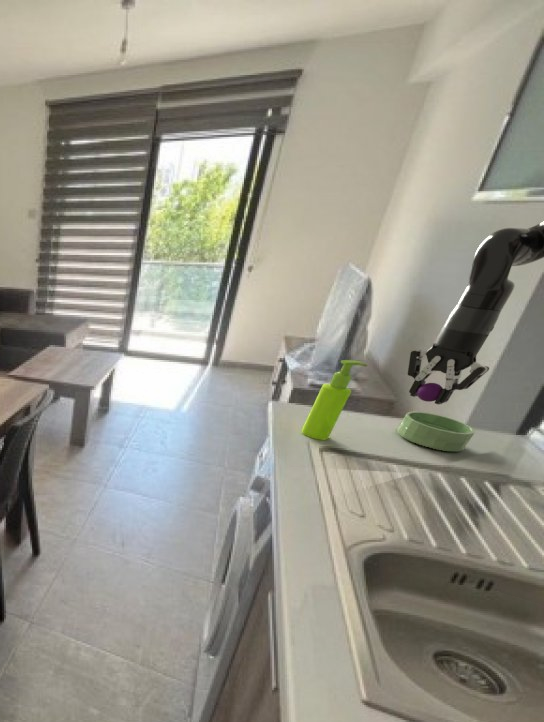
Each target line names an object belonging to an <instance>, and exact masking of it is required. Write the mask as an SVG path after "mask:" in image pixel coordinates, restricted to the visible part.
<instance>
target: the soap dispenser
mask: <svg viewBox="0 0 544 722" xmlns="http://www.w3.org/2000/svg"><path fill="white" fill-rule="evenodd" d="M340 364H342V367H341V369H340V371H336V372H334V374H333V376H332V378H331V381H330V382H329V383H323V384H322V385H321V388H320V390H319V393H318V395H317V396H316V398H315V401H314V403H313V405H312V407H311V409H310V410H309V413H308V415H307V418H306V419H305V422H304V424H303V427H302V428H301V434H303V435H304V436H306V437H308V438H311V439H315V440H321V441H326V440H328V439H329V438H330V435H331V434H332V431H333V430H334V427H335V425H336V423H337V421H338V419H339V417H340V415H341V413H342V411H343V409H344V408H345V406H346V403H347V401H348V399H349V397H350V395H351V393H352V390H351V389H350V388H348V385H349V383H350V381H351V379H352V375H351V374H350V372H351V369H352V368H353V366H362V367H368V364H366V363H364V362H363V361H359V360H354V359H353V360H352V359H344V360H343V359H342V360H340Z"/></svg>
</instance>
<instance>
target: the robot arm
mask: <svg viewBox="0 0 544 722" xmlns="http://www.w3.org/2000/svg"><path fill="white" fill-rule="evenodd" d="M543 258H544V220H543V221H542V222H539V223H538V224H536V225H533V226H530V227H528V228H523V227H522V228H521V227H506V228H501V229H497V230H496V231H493V232H492V233H491V234H489V235H488V236H487V237H486V238H484V239H483V241H482V242H481V243H480V244H479V246H478V247H477V249H476V251H475V253H474V256H473V258H472V263H471V267H470V270H469V274H468V281H467V285H466V287H464V290H463V292H462V294H461V296H460V297H459V299H458V301H457V303H456V305H455V306H454V308H453V309H452V310H451V311H450V313H449V314H448V317H447V318H446V320H445V322H444V324H443V325H442V327H441V329H440V330H439V332H438V335H437V336H436V338H435V340H434V342H433V343H432V346H430V348H429V349H427V350H422V349H416V350H412V351H410V355H409V361H408V368H407V376H409V377H412V378H413V379H414V381H413V383H412V385H411V387H410V388H409V391H408V392H409V395H410V397H412V398H415V397H418V396H417V390H418V389H419V387H420V386H422V385H424V384H426V383H427V382H426V380H427V379H429V377H430V376H431V375H432V374H434V373H435V372H440V373H443V374H445V385H444V387H443V389H442V391H441V392H440V394H439V396H438V398H437V399H436V400H435V401H434V404H436V405H439V406H440V405H443V404H445V403H448V401H449V400H450V398H451V396H452V395H453V393H454V391H457V390H458V391H463V390H468V389H470V387H472V385H473V384H475V383H476V382H477V381H478V380H480V379H481V378H482V377H483V376H484V375H485V374H487V372H489V370H490V367H489V366H488V365H483V364H481V363H479V362H477V355H478V354H479V352H480V351H481V349H482V347H483V345H484V344H485V342H486V341H487V338H488V337H489V336H490V334H491V332H493V330H494V328H495V325H496V323H498V322H497V321H498V320H499V317H500V315H501V312H502V310H503V309H504V307H505V306H506V304H507V302H508V300H509V299H510V297H511V295H512V294H513V291H514V290H515V282H514V281H513V280H511V279H509V276H510V273H511V269H512V267H520V266H525V265H528V264H532V263H534V262H537V261H539V260H542V259H543ZM425 357H426V359H427V363H428V364H426V365H425V366H424V367H423V368H422V367H421V366H422V360H424V359H425ZM469 367H470V370H469V375H467V376H466V377H465V378H464V379H463V380H462V381H461V382H460V379H461V376H462V372H463V370H466V369H467V368H469ZM421 368H422V370H421ZM459 382H460V383H459Z"/></svg>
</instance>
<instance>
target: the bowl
mask: <svg viewBox="0 0 544 722" xmlns="http://www.w3.org/2000/svg"><path fill="white" fill-rule="evenodd" d="M396 432H397V434H398V435H399V436H401V437H402V438H404V439H405V440H407V441H409V442H410V443H413V444H415V443H416V444H415V445H418V444H419V445H418V446H421V445H422V446H421V447H424V446H425V447H424V448H427V447H429V448H428V449H431V448H433V449H432V450H435V449H436V451H441V450H442V452H461V451H464V449H465V448H466V446H467V445H468V444H469V442H470V440H471V439H472V438H473V436H474V434H475V432H476V430H475V429H474V428H473V427H472V426H470V425H468V424H467V423H464V422H462V421H460V420H457V419H454V418H452V417H451V418H450V417H448V416H443V415H440V414H435V413H430V412H423V411H408V412H407V413H406V414H405V415H404V417H403V419H402V421H401V422H400V424H399V426H398V427H397V429H396Z"/></svg>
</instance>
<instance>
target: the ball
mask: <svg viewBox="0 0 544 722" xmlns="http://www.w3.org/2000/svg"><path fill="white" fill-rule="evenodd" d="M442 389H444V387H442V385H440V384H439V383H437V382H425V384H424V385H422V386H420V387H419V389H418V390H417V396H416V397H417V398H419V400H421V401H423V402H426V403H427V402H428V403H429V402H435V401H436V399H437V398H438V396H439V394H440V392H441V391H442Z"/></svg>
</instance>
